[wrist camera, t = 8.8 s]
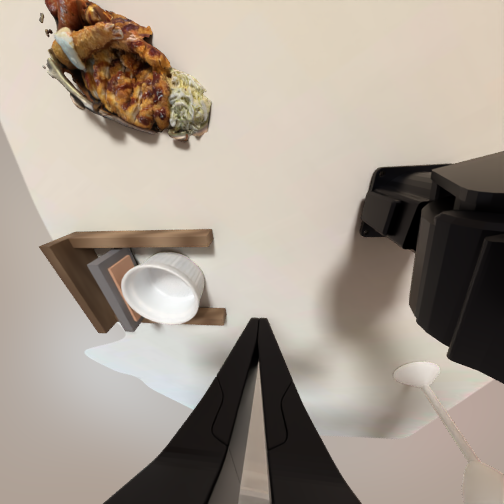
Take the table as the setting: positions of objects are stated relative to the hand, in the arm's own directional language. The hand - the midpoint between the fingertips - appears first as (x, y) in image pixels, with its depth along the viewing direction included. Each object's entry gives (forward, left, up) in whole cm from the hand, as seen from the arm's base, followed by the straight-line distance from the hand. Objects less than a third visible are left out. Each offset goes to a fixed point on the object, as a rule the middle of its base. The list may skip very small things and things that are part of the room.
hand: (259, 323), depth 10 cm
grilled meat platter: (+10, -14, -13) cm, 21 cm away
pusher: (+17, +6, -12) cm, 22 cm away
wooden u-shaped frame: (+14, +6, -12) cm, 19 cm away
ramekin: (+12, +6, -12) cm, 18 cm away
